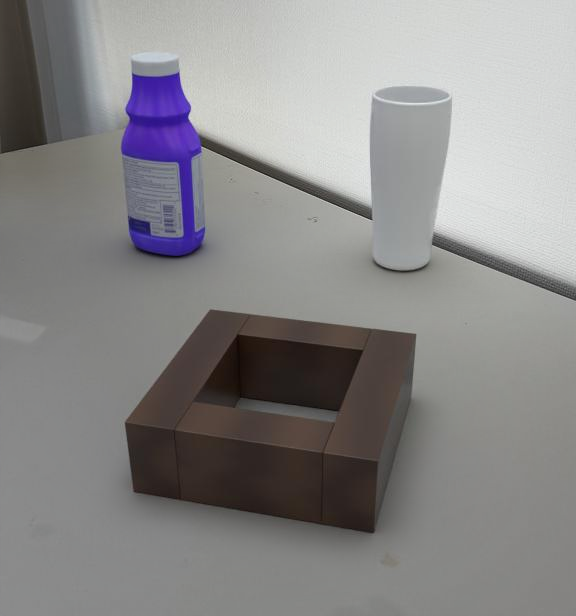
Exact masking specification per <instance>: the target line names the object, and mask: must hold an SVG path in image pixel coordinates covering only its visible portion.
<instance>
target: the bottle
mask: <svg viewBox="0 0 576 616" xmlns="http://www.w3.org/2000/svg"><path fill="white" fill-rule="evenodd" d="M130 65H131V71H130V72H131V91H130V95H129V99H128V101H127V103H126V106H125V108H124V111H125V113H126V115H127V116H128V118H129V120H128V123H127V125H126V126H125V129H124V132H123V134H122V136H121V137H122V138H121V144H120V151H121V159H122V160H121V161H122V171H123V172H122V173H123V182H124V192H125V202H126V213H127V222H128V223H127V224H128V234H129V236H130V239H131V242H132V243H133V245H134V247H136V248H138V249H140V250H142V251H145V252H149V253H153V254H158V255H163V256H172V257H175V256H178V257H179V256H185V255H188V254H190V253H192V252H193V251H195V250H196V249H197V248H199V247H200V246H201V244H202V243H203V241H204V238H205V235H206V211H205V210H206V209H205V191H204V189H205V188H204V186H205V185H204V167H203V164H204V163H203V150H202V143H201V139H200V136H199V134H198V132H197V129H196V128H195V127H194V125H193V124H192V122H191V120H190V119H189V118H190V114H191V112H192V105H191V103H190V101H188V98H187V97H186V95H185V93H184V90H183V87H182V80H181V73H180V70H181V69H180V58H179V56H178V55H177V54H175V53H172V52H167V51H166V52H164V51H146V52H145V51H144V52H140V53H136V54H133V55H132V56H131V57H130Z"/></svg>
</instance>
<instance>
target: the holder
mask: <svg viewBox="0 0 576 616" xmlns="http://www.w3.org/2000/svg"><path fill="white" fill-rule="evenodd" d="M416 344H417V333H413V332H406V331H405V332H403V331H396V330H389V329H380V328H370V327H363V326H353V325H345V324H338V323H328V322H320V321H319V322H318V321H312V320H304V319H294V318H288V317H287V318H286V317H277V316H269V315H260V314H253V313H245V312H236V311H229V310H228V311H227V310H222V309H221V310H220V309H209V310H208V311H207V313H206V314H205V315H204V317H203V318H202V320H200V322H199V323H198V325H197V326H196V327H195V329H194V330H193V331H192V332H191V334H190V335H189V336H188V338H187V339H186V340H185V342H184V343H183V344H182V345H181V347H180V348H179V350H178V351H177V352H176V353H175V355H174V357H173V358H171V360H170V361H169V363H168V364H167V365H166V367H165V368H164V369H163V371H162V372H161V373H160V375H159V376H158V377H157V379H156V380H155V381H154V382H153V384H152V385H151V386H150V388H149V390H147V392H146V393H145V395H144V396H143V397H142V398H141V399H140V401H139V402H138V404H137V405H136V406H135V408H134V409H133V411H132V412H131V413H130V414H129V416H128V417H127V418H126V419H125V421H124V427H125V428H124V429H125V436H126V444H127V450H128V451H127V453H128V460H129V467H130V475H131V482H132V491H133V492H137V493H142V494H148V495H153V494H154V496H159V497H165V498H171V499H176V498H177V500H183V501H189V502H194V503H199V504H205V505H206V504H207V505H211V506H218V507H223V508H230V509H235V510H240V511H247V512H252V513H259V514H263V515H268V516H269V515H270V516H276V517H281V518H287V519H293V520H299V521H304V522H310V523H317V524H322V525H327V526H333V527H339V528H344V529H351V530H355V531H361V532H362V531H363V532H368V533H375V530H376V527H377V522H378V519H379V515H380V513H381V510H382V509H381V508H382V505H383V501H384V497H385V494H386V490H387V486H388V484H389V481H390V480H389V479H390V476H391V472H392V468H393V465H394V462H395V458H396V454H397V450H398V447H399V444H400V439H401V437H402V432H403V428H404V425H405V421H406V418H407V414H408V410H409V406H410V405H411V399H412V395H413V381H414V380H413V379H414V370H415V357H416V346H417V345H416ZM240 398H246V399H254V400H260V401H267V402H273V403H274V402H275V403H280V404H281V403H282V404H289V405H295V406H301V407H302V406H304V407H311V408H318V409H325V410H330V411H331V410H332V411H338V414H337V416H336V419H335V421H334V422H333V421H329V420H322V419H321V420H320V419H314V418H308V417H301V416H293V415H287V414H281V413H275V412H274V413H273V412H266V411H261V410H260V411H259V410H251V409H246V408H245V409H244V408H240V407H239V408H238V407H235V406H236V405H237V403H238V402H239V399H240Z"/></svg>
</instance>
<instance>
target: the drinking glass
mask: <svg viewBox="0 0 576 616" xmlns="http://www.w3.org/2000/svg"><path fill="white" fill-rule="evenodd" d="M452 110H453V94H452V93H451V92H450V91H448V90H446V89H444V88H440V87H437V86H431V85H422V84H397V85H395V84H394V85H387V86H382V87H379V88H377V89H375V90H373V92H372V93H371V102H370V113H369V133H368V135H369V137H368V142H369V147H368V149H369V167H370V168H369V170H370V171H369V172H370V193H371V195H370V198H371V217H372V218H371V219H372V246H371V247H372V249H371V254H372V258H373V260H374V261H375V263H376V264H377V265H379V266H381V267H383V268H386V269H388V270H394V271H404V272H405V271H414V270H418V269H420V268H424V267H425V266H426V265H427V264H428V263H429V262H430V260H431V257H432V250H433V249H432V248H433V238H434V233H435V226H436V220H437V215H438V209H439V204H440V197H441V192H442V186H443V180H444V175H445V169H446V165H447V164H446V163H447V157H448V153H449V152H448V151H449V146H450V145H449V144H450V137H451V126H452V114H453V113H452Z"/></svg>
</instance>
